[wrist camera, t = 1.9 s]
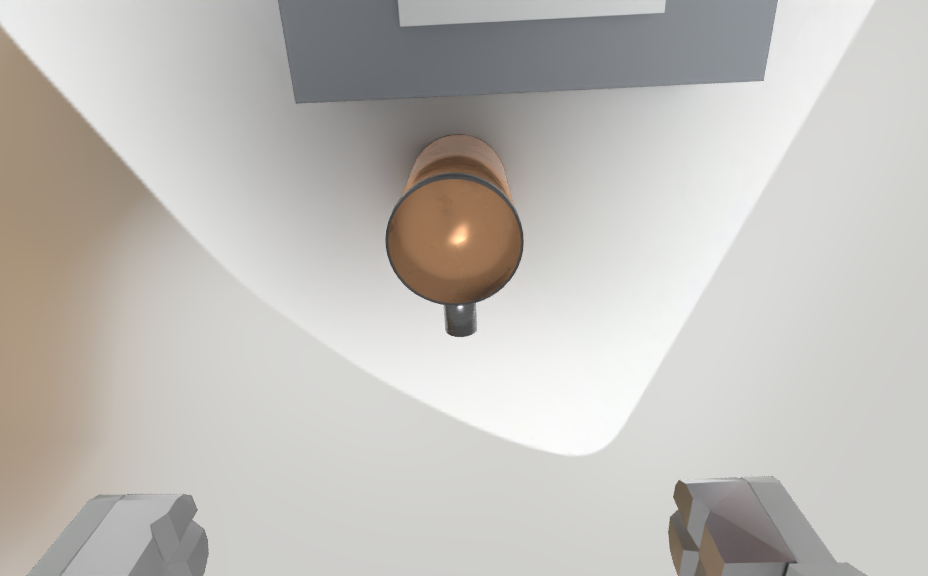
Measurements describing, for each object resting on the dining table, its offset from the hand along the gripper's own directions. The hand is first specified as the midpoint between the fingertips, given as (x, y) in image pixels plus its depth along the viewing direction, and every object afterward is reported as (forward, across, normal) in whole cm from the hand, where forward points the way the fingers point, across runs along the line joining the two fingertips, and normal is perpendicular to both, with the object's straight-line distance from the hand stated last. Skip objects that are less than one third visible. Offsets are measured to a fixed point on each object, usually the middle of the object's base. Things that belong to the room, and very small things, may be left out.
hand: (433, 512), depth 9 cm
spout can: (+22, 0, +1) cm, 22 cm away
